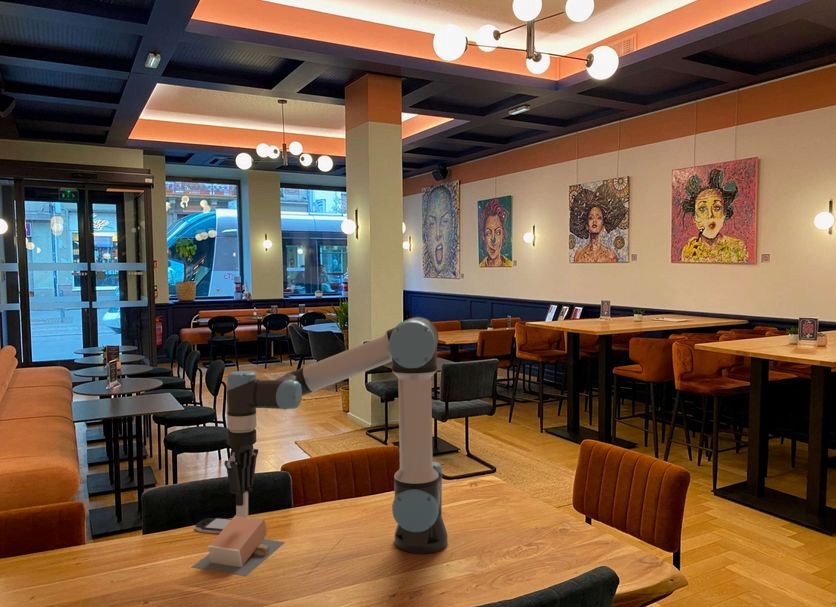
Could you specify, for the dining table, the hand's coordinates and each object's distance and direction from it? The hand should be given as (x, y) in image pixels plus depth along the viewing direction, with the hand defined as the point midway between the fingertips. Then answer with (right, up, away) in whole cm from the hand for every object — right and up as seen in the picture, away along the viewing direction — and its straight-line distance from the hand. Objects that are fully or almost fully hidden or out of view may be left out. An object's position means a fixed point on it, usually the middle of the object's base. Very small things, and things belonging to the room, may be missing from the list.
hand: (242, 515), depth 161 cm
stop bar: (0, -10, +1) cm, 10 cm away
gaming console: (-9, -11, +17) cm, 22 cm away
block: (+1, -4, +5) cm, 6 cm away
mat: (0, -11, 0) cm, 11 cm away
